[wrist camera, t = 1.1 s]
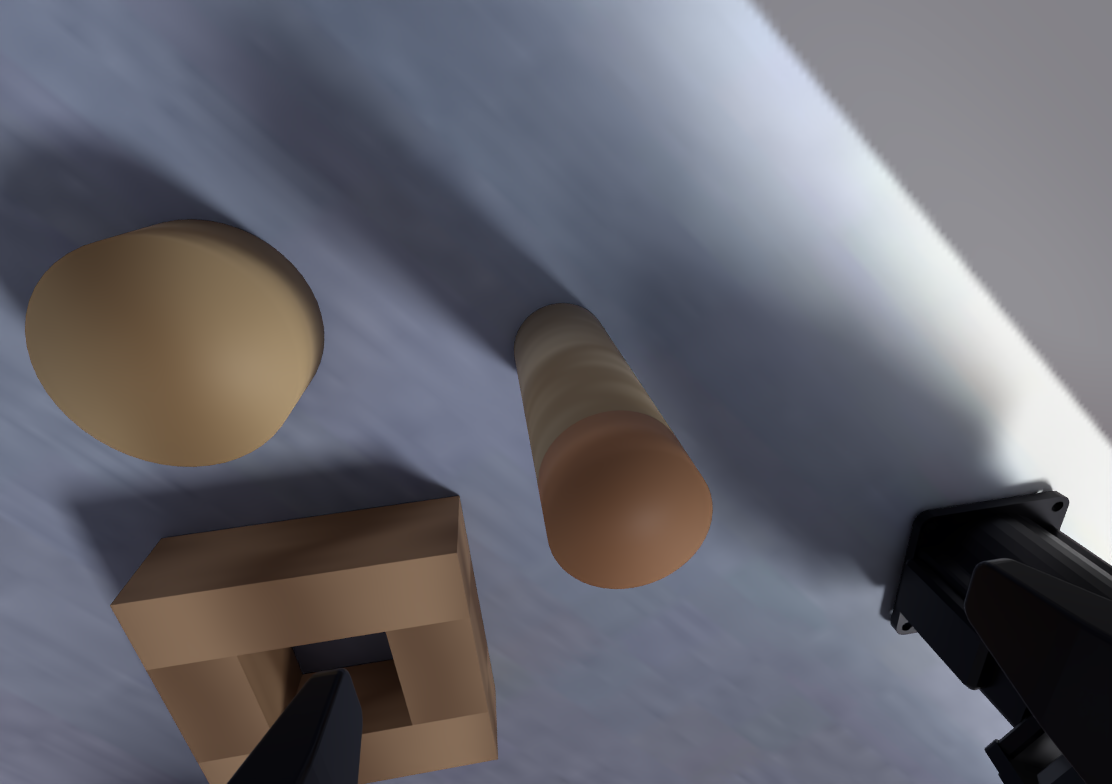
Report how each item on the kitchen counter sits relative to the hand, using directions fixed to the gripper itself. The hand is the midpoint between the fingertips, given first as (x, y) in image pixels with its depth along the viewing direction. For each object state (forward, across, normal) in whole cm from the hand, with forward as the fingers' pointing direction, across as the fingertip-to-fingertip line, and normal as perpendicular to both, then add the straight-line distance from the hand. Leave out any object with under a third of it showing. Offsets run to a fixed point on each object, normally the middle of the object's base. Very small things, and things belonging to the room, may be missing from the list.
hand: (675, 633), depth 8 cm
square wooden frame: (+11, +9, +10) cm, 18 cm away
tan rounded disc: (+12, +10, -2) cm, 15 cm away
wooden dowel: (+11, 0, 0) cm, 11 cm away
